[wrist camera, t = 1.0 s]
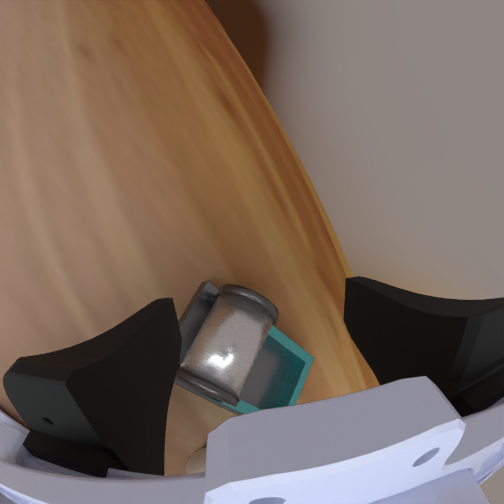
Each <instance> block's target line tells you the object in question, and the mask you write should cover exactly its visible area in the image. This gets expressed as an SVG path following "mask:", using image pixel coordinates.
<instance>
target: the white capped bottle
mask: <svg viewBox="0 0 504 504" xmlns="http://www.w3.org/2000/svg"><path fill="white" fill-rule="evenodd" d="M205 463H206V447H204V448H201V449H199V450H197V451H196V452H194V453H193V454H192V455H191V456H190V457H189V459H188V460H187V462H186V465H185V474H193V473H200V472H205Z"/></svg>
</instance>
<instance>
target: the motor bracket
mask: <svg viewBox="0 0 504 504" xmlns="http://www.w3.org/2000/svg"><path fill="white" fill-rule="evenodd" d="M278 316H279V312H278V310H277V308H276V307H275V306H274V305H273V304H272V303H271V302H270V301H269V300H268V299H266V298H265V297H264V296H262V295H260V294H259V293H257V292H255V291H253V290H250V289H248V288H245V287H242V286H238V285H231V284H228V285H223V286H222V287H221V288H220V289H219V290H218V289H217V288H216V287H215V286H214V285H213V284H211V283H210V282H209V281H205V282H202V284H201V285H200V287H199V289H198V290H197V292H196V294H195V295H194V297H193V299H192V300H191V302H190V304H189V305H188V307H187V309H186V310H185V312H184V314H183V315H182V317H181V319H180V320H179V322H178V324H179V328H180V332H181V336H182V347H181V356H180V361H179V365H178V369H177V373H176V376H175V380H174V383H176V384H178V385H180V386H181V387H183V388H185V389H187V390H189V391H191V392H192V393H194V394H196V395H198V396H200V397H202V398H204V399H206V400H208V401H210V402H212V403H214V404H216V405H218V406H220V407H222V408H225V409H227V410H229V411H231V412H233V413H235V414H238V415H244V414H248V413H251V412H255V411H259V410H263V409H270V408H278V407H285V406H291V405H295V404H296V402H297V400H298V397H299V395H300V392H301V390H302V388H303V385H304V383H305V380H306V377H307V375H308V372H309V370H310V367H311V365H312V362H313V359H314V357H312V356H311V355H310V354H309V353H307V352H306V351H305V350H303V349H302V348H301V347H300V346H298V345H297V344H296V343H295V342H293V341H292V340H291V339H290V338H288V337H287V336H286V335H284V334H283V333H282V332H281V331H280V330H278V329H277V328H276V327H275V326H273V325H274V324H275V323H276V321H277V319H278Z"/></svg>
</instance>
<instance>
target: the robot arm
mask: <svg viewBox="0 0 504 504" xmlns="http://www.w3.org/2000/svg"><path fill="white" fill-rule="evenodd" d="M344 323H345V325H346V327H347V330H348V332H349V334H350V336H351V338H352V340H353V341H354V343H355V344H356V346H357V348H358V349H359V351H360V352H361V354H362V355H363V357H364V358H365V360H366V362H367V363H368V365H369V366H370V368H371V369H372V371H373V372H374V374H375V376H376V378H377V380H378V382H379V384H380V386H377V387H373V388H370V389H366V390H362V391H359V392H355V393H351V394H347V395H343V396H338V397H334V398H329V399H324V400H319V401H314V402H309V403H303V404H298V405H291V406H285V407H278V408H270V409H263V410H259V411H255V412H251V413H248V414H244V415H240V416H236V417H232V418H230V419H228V420H226V421H225V422H224V423H222V424H221V425H220V426H218V427H217V428H215V429H214V430H213V431H211V432H210V433H208V439H207V447H206V463H205V472H200V473H193V474H185V475H176V476H164V447H165V431H166V420H167V411H168V404H169V399H170V395H171V391H172V388H173V384H174V380H175V376H176V373H177V369H178V365H179V361H180V356H181V347H182V336H181V332H180V328H179V324H178V320H177V316H176V312H175V307H174V303H173V298H162V299H157V300H155V301H153V302H151V303H150V304H148V305H147V306H145V307H144V308H142V309H141V310H140V311H138V312H137V313H135V314H134V315H132V316H131V317H129V318H128V319H126V320H125V321H123V322H121V323H120V324H118V325H117V326H115V327H114V328H112V329H110V330H108V331H106V332H105V333H103V334H101V335H99V336H96V337H94V338H92V339H90V340H87V341H85V342H82V343H80V344H77V345H74V346H72V347H69V348H65V349H62V350H58V351H54V352H50V353H46V354H40V355H34V356H27V357H20V358H18V359H17V360H16V362H15V363H14V364H13V365H12V366H11V367H10V368H9V370H8V371H7V372H6V373H5V374H4V377H3V384H4V389H5V391H6V394H7V396H8V398H9V399H10V401H11V403H12V404H13V406H14V407H15V409H16V410H17V411H18V413H19V414H20V416H21V417H22V418H23V420H24V421H25V422H26V424H27V425H28V426H29V427H30V429H31V430H28V429H27V428H25V427H24V426H22V425H21V424H19V423H18V422H16V421H15V420H14V419H12V418H11V417H9V416H8V415H7V414H5V413H4V412H3V411H2V410H0V504H489V502H488V500H487V498H486V496H485V495H484V493H483V491H482V490H481V488H480V486H479V485H480V484H481V483H482V482H484V481H485V480H486V479H487V478H489V477H490V476H491V475H492V474H494V473H495V472H496V471H497V470H498V469H499V468H500V467H502V466H503V465H504V297H503V298H495V299H485V300H458V299H446V298H438V297H433V296H427V295H422V294H418V293H414V292H410V291H407V290H403V289H400V288H397V287H394V286H391V285H388V284H385V283H382V282H378V281H376V280H372V279H369V278H365V277H360V276H358V277H351V278H346V284H345V305H344Z"/></svg>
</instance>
